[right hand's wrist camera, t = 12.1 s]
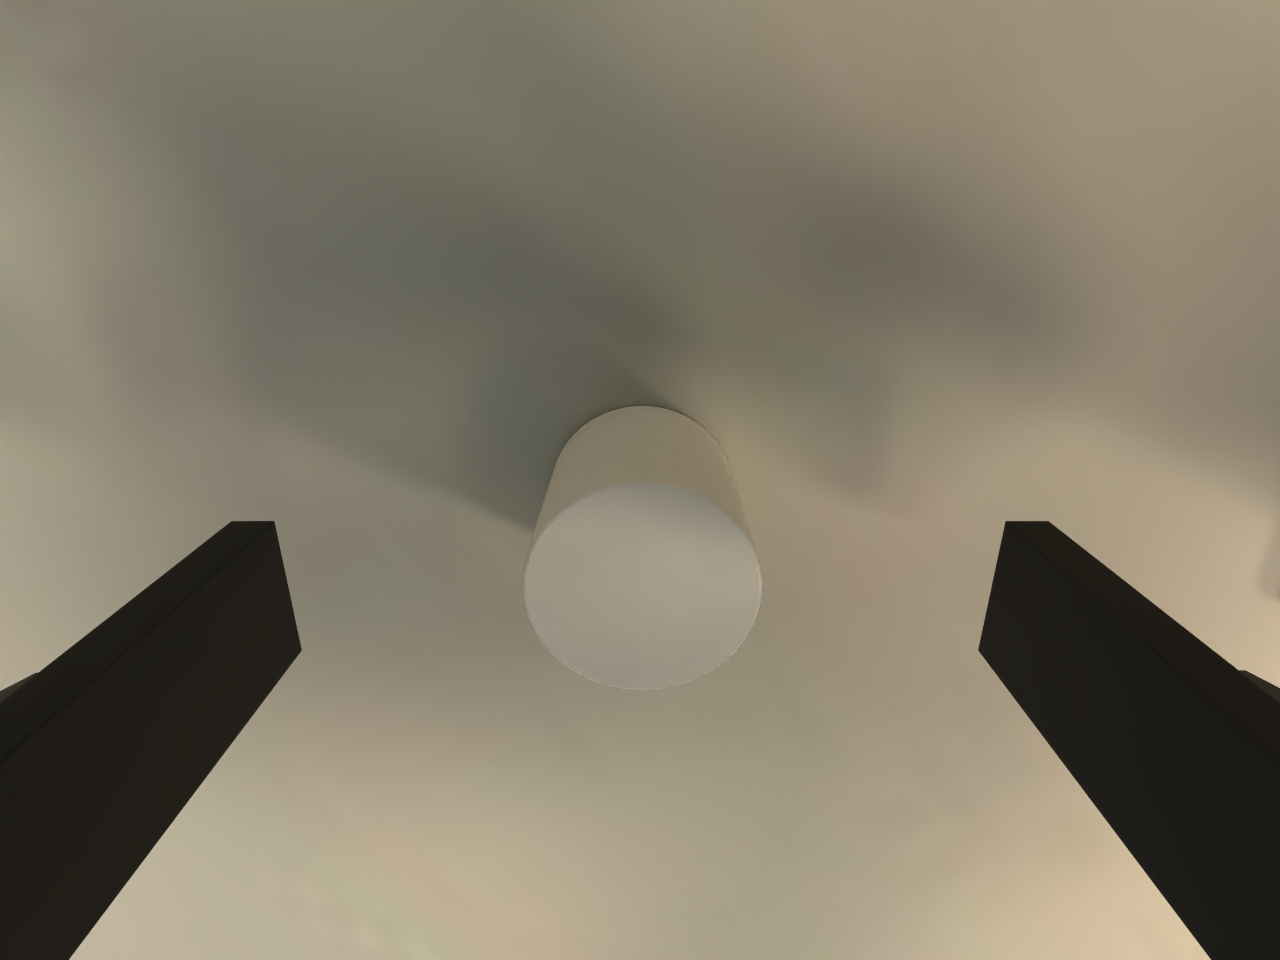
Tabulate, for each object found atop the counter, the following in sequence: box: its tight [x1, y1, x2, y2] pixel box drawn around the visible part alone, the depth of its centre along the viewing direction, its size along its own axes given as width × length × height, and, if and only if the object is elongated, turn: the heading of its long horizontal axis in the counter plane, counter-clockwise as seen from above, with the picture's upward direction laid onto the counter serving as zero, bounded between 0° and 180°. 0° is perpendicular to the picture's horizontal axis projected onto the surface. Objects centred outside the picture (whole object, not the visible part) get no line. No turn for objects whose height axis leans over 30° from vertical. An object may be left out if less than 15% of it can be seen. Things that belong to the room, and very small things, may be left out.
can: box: [522, 406, 762, 690], centre depth 14 cm, size 4×4×4 cm
